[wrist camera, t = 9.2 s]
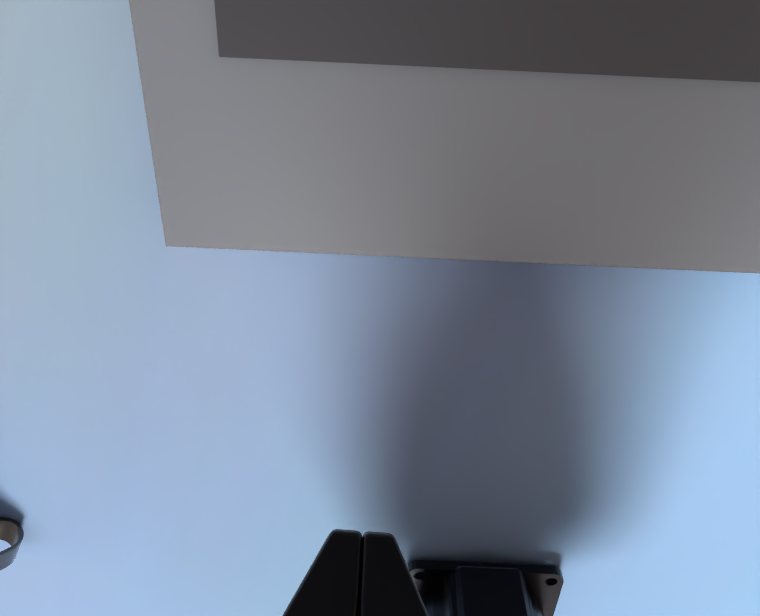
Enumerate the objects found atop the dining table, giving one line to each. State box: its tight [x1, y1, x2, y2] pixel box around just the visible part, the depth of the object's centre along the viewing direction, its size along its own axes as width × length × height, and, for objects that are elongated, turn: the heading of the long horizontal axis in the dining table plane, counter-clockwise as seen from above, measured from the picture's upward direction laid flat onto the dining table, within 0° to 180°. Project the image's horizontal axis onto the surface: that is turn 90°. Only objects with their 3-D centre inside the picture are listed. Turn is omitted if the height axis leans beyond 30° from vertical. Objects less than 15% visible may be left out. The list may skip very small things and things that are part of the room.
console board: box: [129, 0, 760, 273], centre depth 15 cm, size 12×26×2 cm, turn 88°
